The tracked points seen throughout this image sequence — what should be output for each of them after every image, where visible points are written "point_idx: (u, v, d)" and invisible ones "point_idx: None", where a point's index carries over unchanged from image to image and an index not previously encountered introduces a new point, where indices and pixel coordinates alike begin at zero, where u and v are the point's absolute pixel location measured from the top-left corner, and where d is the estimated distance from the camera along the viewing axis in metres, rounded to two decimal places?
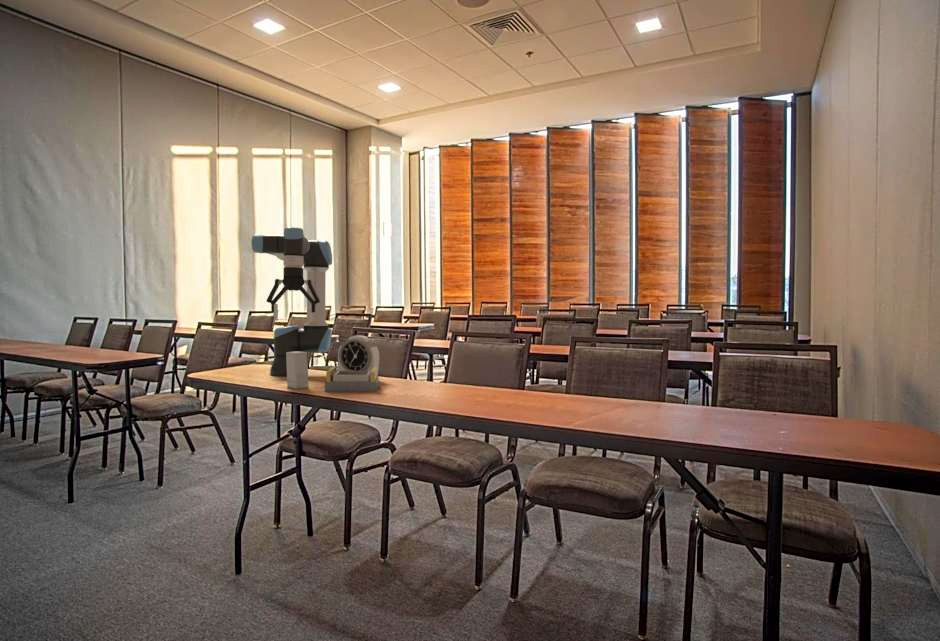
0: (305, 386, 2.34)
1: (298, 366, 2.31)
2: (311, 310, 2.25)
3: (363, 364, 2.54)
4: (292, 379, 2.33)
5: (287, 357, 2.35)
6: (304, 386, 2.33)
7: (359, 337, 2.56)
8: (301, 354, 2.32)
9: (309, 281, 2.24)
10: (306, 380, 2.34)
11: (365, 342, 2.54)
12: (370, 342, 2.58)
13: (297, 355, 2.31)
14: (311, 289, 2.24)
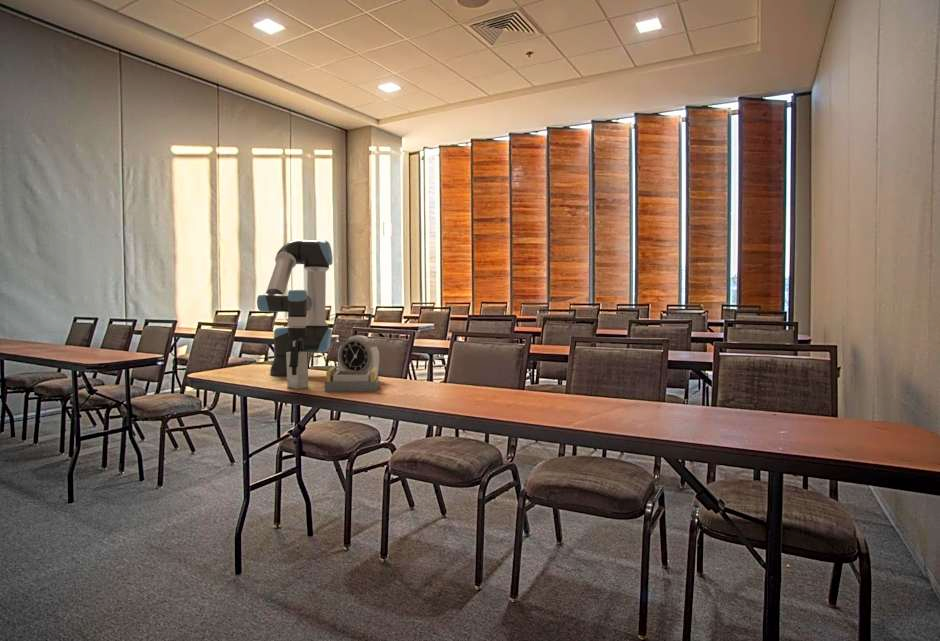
0: (305, 386, 2.34)
1: (298, 366, 2.31)
2: (291, 372, 2.30)
3: (363, 364, 2.54)
4: None
5: (287, 357, 2.35)
6: (304, 386, 2.33)
7: (359, 337, 2.56)
8: (301, 354, 2.32)
9: (291, 343, 2.28)
10: (306, 380, 2.34)
11: (365, 342, 2.54)
12: (370, 342, 2.58)
13: None
14: (290, 351, 2.28)
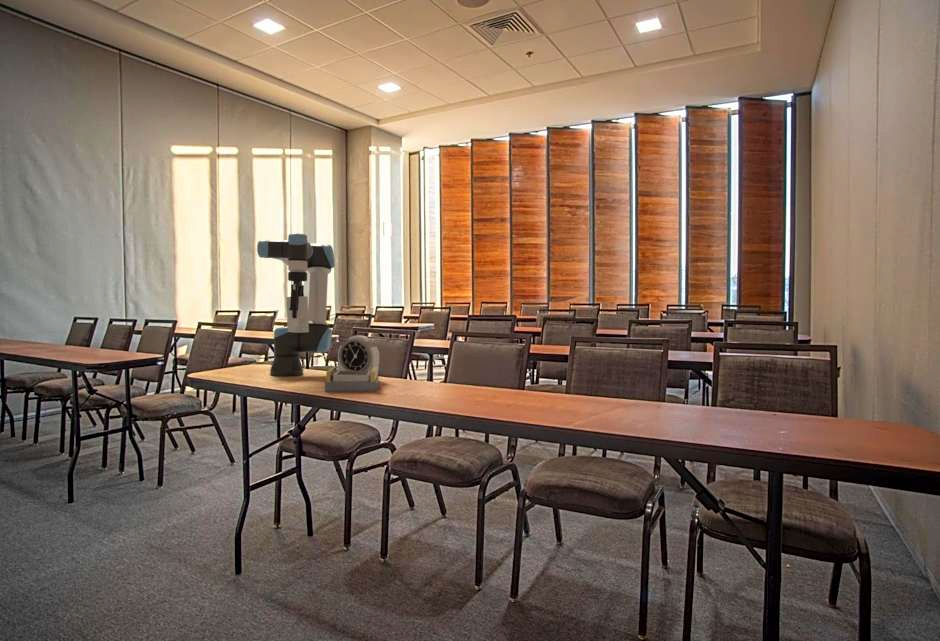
0: (305, 330, 2.33)
1: (298, 309, 2.30)
2: None
3: (363, 364, 2.54)
4: None
5: (287, 302, 2.34)
6: (304, 330, 2.32)
7: (359, 337, 2.56)
8: (301, 298, 2.31)
9: (291, 286, 2.27)
10: (306, 324, 2.33)
11: (365, 342, 2.54)
12: (370, 342, 2.58)
13: None
14: (291, 294, 2.27)
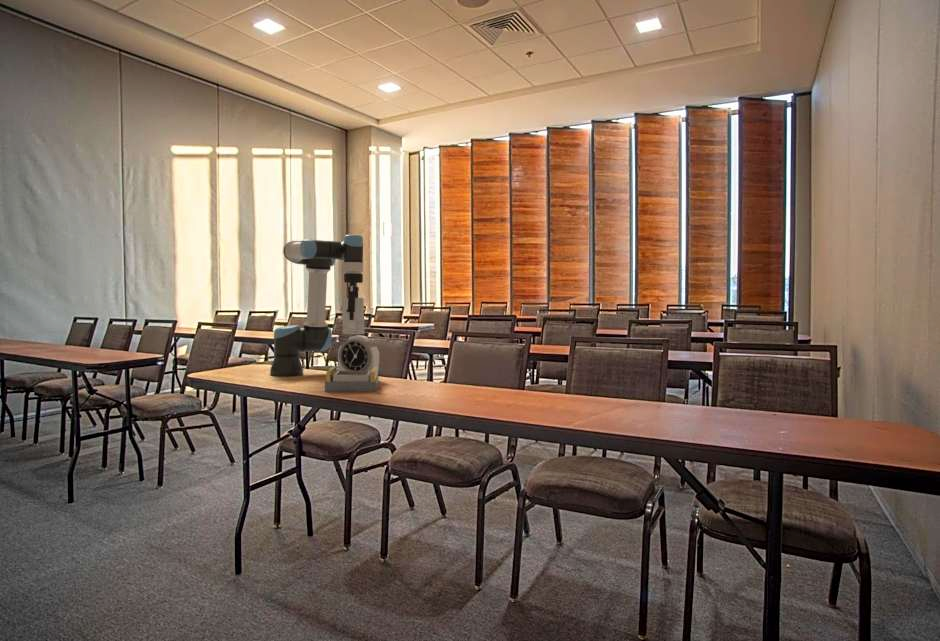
0: (361, 332, 2.32)
1: (355, 311, 2.29)
2: (349, 317, 2.28)
3: (363, 364, 2.54)
4: None
5: (343, 303, 2.33)
6: (360, 332, 2.32)
7: (359, 337, 2.56)
8: (358, 300, 2.30)
9: (348, 288, 2.27)
10: (362, 326, 2.32)
11: (365, 342, 2.54)
12: (370, 342, 2.58)
13: None
14: None
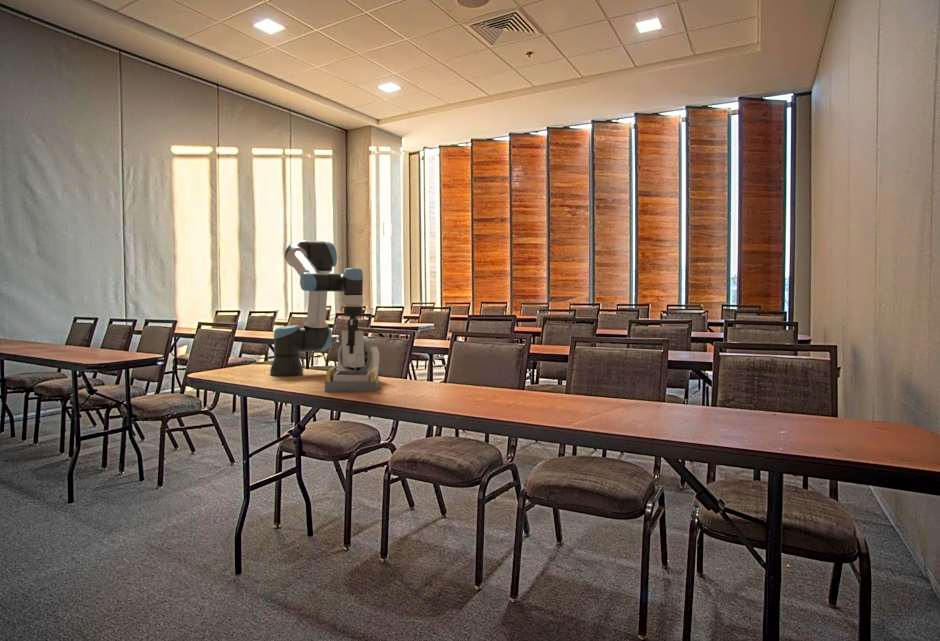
0: (361, 365, 2.32)
1: None
2: (348, 351, 2.28)
3: None
4: None
5: (343, 336, 2.34)
6: (360, 365, 2.32)
7: None
8: (357, 333, 2.31)
9: (348, 321, 2.27)
10: (362, 359, 2.33)
11: (365, 342, 2.54)
12: (370, 342, 2.58)
13: None
14: (348, 330, 2.27)
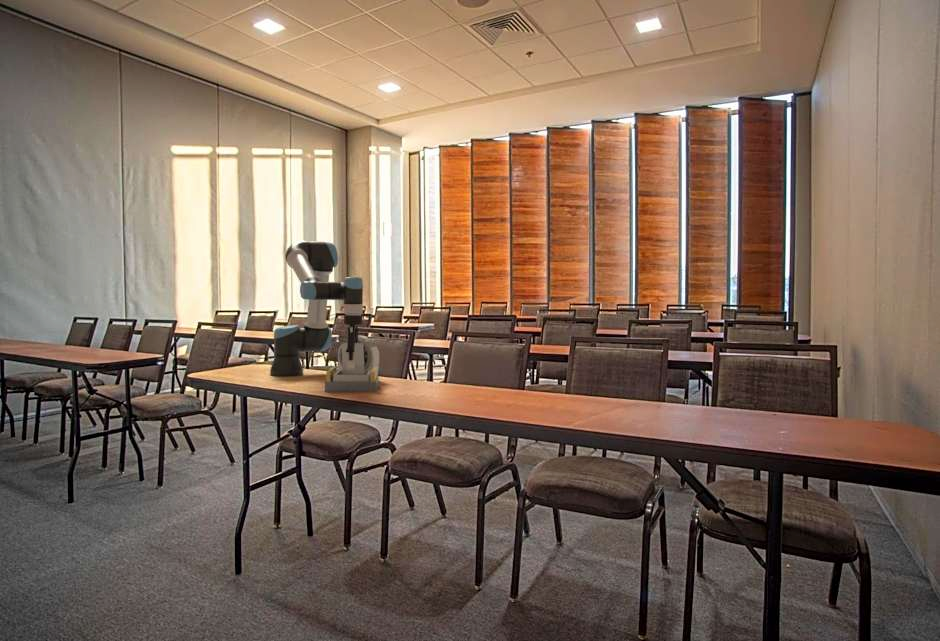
0: None
1: (355, 357, 2.31)
2: (348, 358, 2.27)
3: None
4: (348, 370, 2.32)
5: (343, 348, 2.34)
6: None
7: (359, 337, 2.56)
8: (358, 345, 2.32)
9: (348, 329, 2.27)
10: (362, 371, 2.33)
11: (365, 342, 2.54)
12: (370, 342, 2.58)
13: None
14: (348, 337, 2.27)
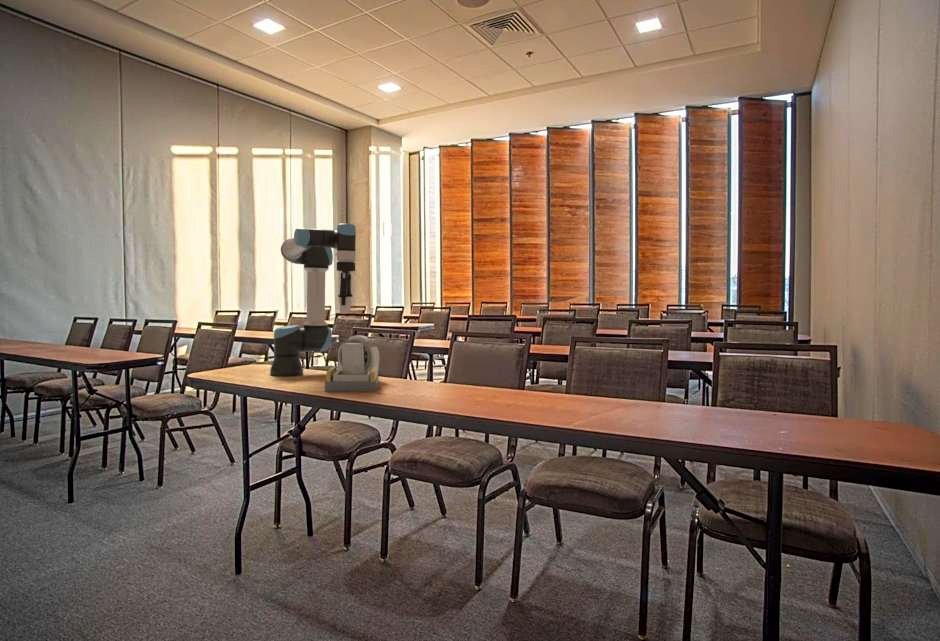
0: None
1: (355, 357, 2.31)
2: (340, 303, 2.29)
3: None
4: (348, 370, 2.32)
5: (343, 348, 2.34)
6: None
7: (359, 337, 2.56)
8: (358, 345, 2.32)
9: (341, 274, 2.29)
10: (362, 371, 2.33)
11: (365, 342, 2.54)
12: (370, 342, 2.58)
13: (354, 346, 2.30)
14: None
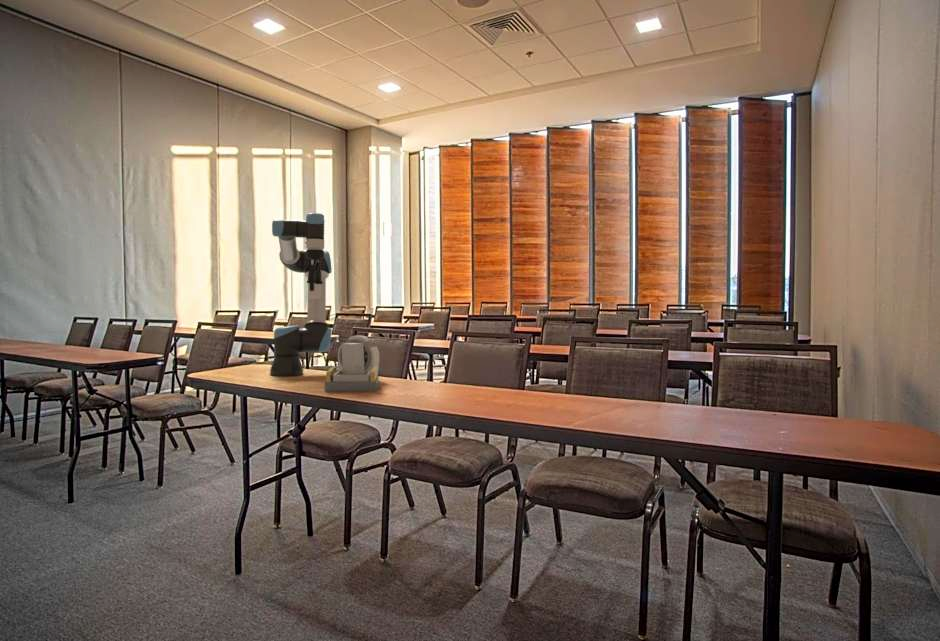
0: None
1: (355, 357, 2.31)
2: (309, 288, 2.39)
3: None
4: (348, 370, 2.32)
5: (343, 348, 2.34)
6: None
7: (359, 337, 2.56)
8: (358, 345, 2.32)
9: None
10: (362, 371, 2.33)
11: (365, 342, 2.54)
12: (370, 342, 2.58)
13: (354, 346, 2.30)
14: (309, 269, 2.39)
